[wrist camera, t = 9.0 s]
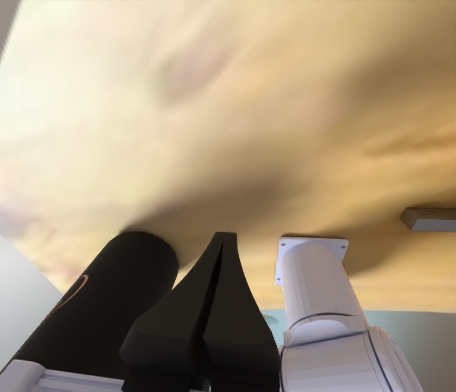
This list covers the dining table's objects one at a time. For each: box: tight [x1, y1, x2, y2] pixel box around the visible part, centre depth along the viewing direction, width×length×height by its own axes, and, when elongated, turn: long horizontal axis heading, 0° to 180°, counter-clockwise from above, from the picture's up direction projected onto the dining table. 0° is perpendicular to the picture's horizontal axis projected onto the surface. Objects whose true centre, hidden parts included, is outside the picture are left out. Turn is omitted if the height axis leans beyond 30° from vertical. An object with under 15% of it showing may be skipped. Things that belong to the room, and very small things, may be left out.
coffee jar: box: [0, 232, 179, 380], centre depth 22 cm, size 11×11×18 cm
